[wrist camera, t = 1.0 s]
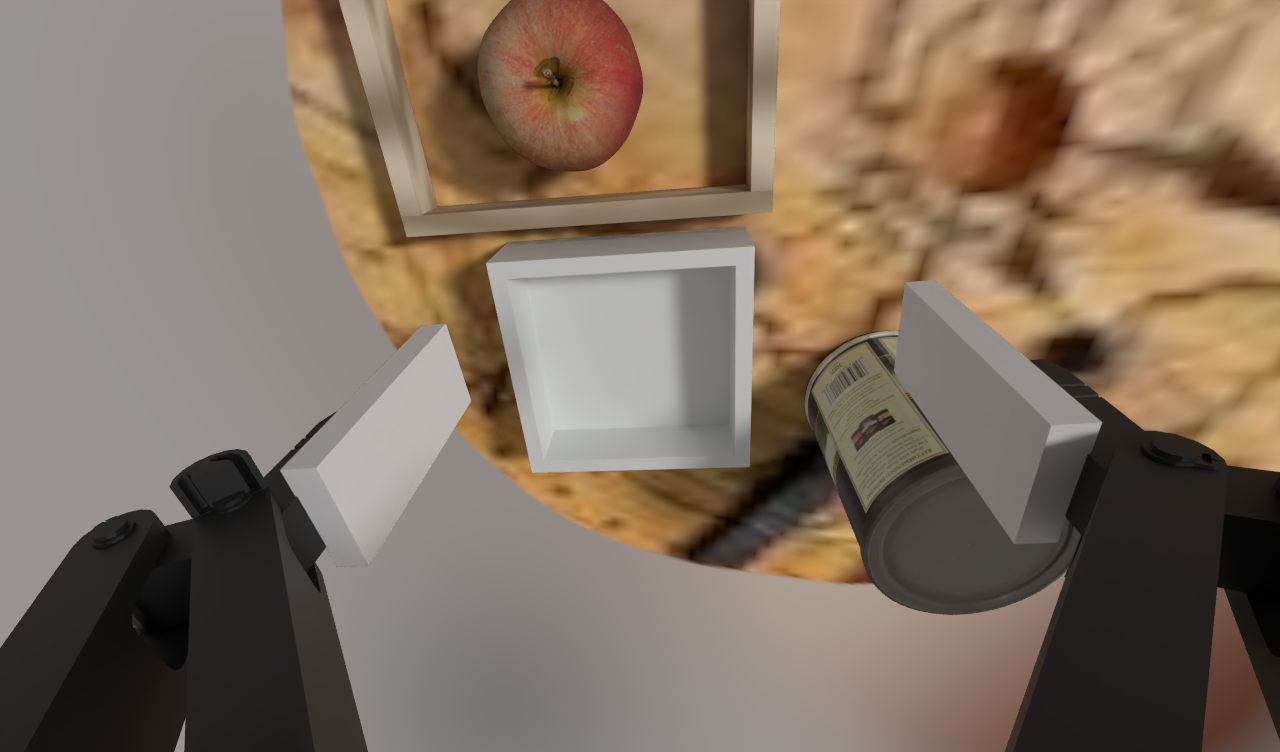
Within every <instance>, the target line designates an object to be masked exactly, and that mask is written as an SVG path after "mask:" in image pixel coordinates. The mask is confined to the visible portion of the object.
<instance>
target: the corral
mask: <svg viewBox="0 0 1280 752" xmlns="http://www.w3.org/2000/svg"><path fill="white" fill-rule="evenodd" d="M339 2H340V6H341V9H342V13H343V16H344V20H345V23H346V27H347V30H348V34H349V37H350V41H351V44H352V48H353V51H354V55H355V58H356V62H357V65H358V69H359V72H360V76H361V79H362V83H363V86H364V90H365V93H366V96H367V100H368V103H369V107H370V110H371V114H372V117H373V121H374V124H375V128H376V131H377V135H378V138H379V142H380V145H381V149H382V152H383V156H384V159H385V163H386V166H387V170H388V173H389V177H390V180H391V184H392V187H393V191H394V194H395V198H396V201H397V205H398V208H399V212H400V215H401V219H402V222H403V225H404V229H405V232H406V236H407V237H418V236H432V235H447V234H462V233H476V232H491V231H506V230H521V229H535V228H550V227H565V226H579V225H594V224H609V223H624V222H638V221H653V220H668V219H682V218H697V217H712V216H727V215H741V214H756V213H771V212H772V210H773V183H774V155H775V128H776V101H777V74H778V47H779V20H780V0H748V67H747V141H746V184H740V185H726V186H712V187H699V188H685V189H671V190H657V191H644V192H630V193H616V194H603V195H589V196H575V197H561V198H548V199H534V200H520V201H507V202H493V203H479V204H466V205H452V206H438V207H437V203H436V199H435V195H434V191H433V187H432V183H431V179H430V176H429V172H428V168H427V164H426V160H425V156H424V152H423V148H422V144H421V140H420V136H419V132H418V128H417V124H416V120H415V116H414V112H413V108H412V104H411V100H410V96H409V92H408V89H407V85H406V81H405V77H404V73H403V69H402V65H401V61H400V57H399V53H398V49H397V45H396V41H395V37H394V33H393V29H392V25H391V21H390V17H389V13H388V9H387V5H386V1H385V0H339Z"/></svg>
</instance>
